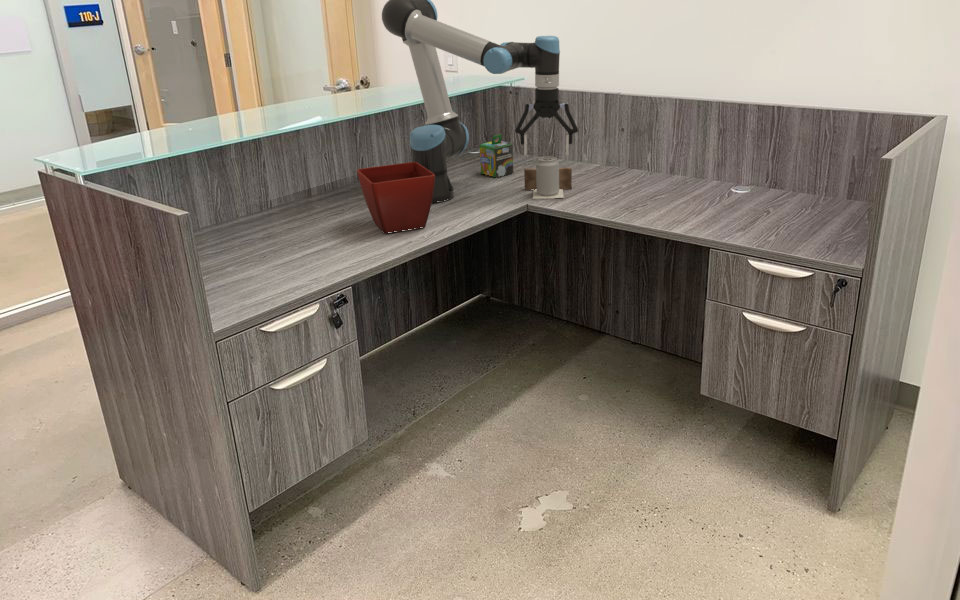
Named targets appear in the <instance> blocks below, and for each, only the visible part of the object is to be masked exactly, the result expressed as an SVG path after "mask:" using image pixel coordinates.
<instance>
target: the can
mask: <svg viewBox="0 0 960 600" xmlns="http://www.w3.org/2000/svg"><path fill="white" fill-rule="evenodd" d="M557 159H558V158H557V157H555V156H549V155H548V156H541V157H538V158H537V162H536V163H535V169H536V185H537V192H538V193H539V194H540V195H542V196H552V195H556V194H557V193H558V192H559V168H560V162H559V161H558V160H557Z"/></svg>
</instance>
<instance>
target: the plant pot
mask: <svg viewBox="0 0 960 600" xmlns="http://www.w3.org/2000/svg"><path fill="white" fill-rule="evenodd" d="M356 173H357V177H358V181H359V184H360V187H361V192H362V194H363V197H364V201H365V203H366V206H367V208H368V211H369V213H370V216H371V218H372V220H373V222H375V223H374V224H375V225H376V226H377V227H378V228H379V230H380V231H381V230H382V231H383V232H384V233H388V232H394V231H402V230H408V229H414V228H420V227H425V228H426V226H427V222H428V219H429V216H430V212H431V207H432V204H433V203H432V197H433V190H434V182H435V174H433V173H432V172H431V171H429V170H428V169H426V168H425V167H423V166H422V165H420V164H419V163H417V162H412V161H409V162H405V163H396V164H395V163H394V164H387V165H380V166H372V167H370V166H369V167H365V168H363V167H362V168H357V169H356ZM383 232H382V233H383ZM384 233H383V234H384Z"/></svg>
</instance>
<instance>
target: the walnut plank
mask: <svg viewBox="0 0 960 600" xmlns="http://www.w3.org/2000/svg"><path fill="white" fill-rule="evenodd" d="M523 171H524V172H523V174H524V176H523V177H524V191H532V190H531V189H534V190H535V189H537V185H536V168H524V169H523ZM572 172H573V171H572V167H559V189H563V190H572V188H573V187H572V186H573V184H572V182H573V181H572V177H573V176H572ZM526 189H527V190H526Z"/></svg>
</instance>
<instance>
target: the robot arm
mask: <svg viewBox="0 0 960 600" xmlns="http://www.w3.org/2000/svg"><path fill="white" fill-rule="evenodd" d="M381 21H382V24H383V26H384V28H385V29H386V30H387V31H388V32H389V33H390V34H392V35H394V36H396V37H399V38H401V40H402V43H403V44H405V45H406V46H408V48H409V52H410V56H411V58H412V59H411V60H412V64H413V66H414V67H413V68H414V71H415V74H416V77H417V82H418V84H419V89H420V93H421V95H422V100H423V103H424V107H425V110H426V114H427V115H426V116H427V120H426V121H425V125H423V126H418V127H415V128H414V129H412V131H411V132H410V134H409V148H410V158H411V159H410V160H411V162H417V163H419V164H420V165H422V166H423V167H425V168H426V169H428V170H429V171H431V172H432V173H433V174H435V182H434V190H433V197H432V202H437V201H444V200H447V199H450V198H452V197H453V196H455V191H454V188H453V185H452V183H451V179H450V177H449V175H448V164H447V163H448V162H447V161H448V160H450V159H453V158H455V157H456V158H457V157H458V156H459V155H460V154H462V153H463V152H464V151H466V149H467V147H468V145H469V143H470V141H469V140H470V135H469V130H468V128H467V127H466V125H465V124H463V123H462V122H461V121H460V117H459V114H457V113H456V112H455V111H453V108H452V104H451V101H450V98H449V97H450V96H449V93H448V90H447V86H446V81H445V78H444V75H443V71H442V67H441V63H440V60H439V55H438V52H437V49H439V50H441V51H443V52H446V53H449V54H452V55H453V56H456V57H459V58H461V59H465V60H467V61H470V62H471V63H474V64H476V65H480V66H481V67H482V66H483V67H484V68H485V69H486V71H487V72H489V73H490V74H493V75H501V74H505V73H507V72H509V71H511V70H512V71H513V70H515V69H519V68H521V69H523V68H525V69H526V68H527V69H528V68H530V69H533V68H534V70H535V71H534V82H535V83H534V86H535V87H536V88H535V89H534V104H533V103H529V102H526V103H525V106H524V111H523V113H522V115H521V117H520V119H519V121H518V123H517V125H516V127H515V130H514V132H515V133H516V134H519V136H520V145H523V151H524V152H523V155H524V156H527V152H528V150H527V146H528V144H527V143H528V140H527V139H528V135H527V131H528V130H529V129H530V128H531V126H533V124H534V123H535V121H537V119H539V117H540V118H542V119H544V118H548V119H552V118H555V119H556V120H557V121H558V122H559V124H560V125H561V126H562V128H563V129H565V131H566V132H567V133H565V155H566V156H569V146H570V145H572V144H573V134H576V133H578V132H579V128H578V125H577V124H576V121H575V120H574V118H573V115H572V113H571V111H570V108H569V103H568V102H567V101H566V102H565V103H560V102H559V99H560V96H559V95H560V94H559V93H560V90H559V86H560V53H561V51H560V39H559V37H558V36H555V35H539V36H536V37H535V41H534V42H516V41H515V42H514V41H509V42H508V41H507V42H502V43H500V44H498V43H496V42H492V41H490V40H489V39H486V38H483V37H480V36H478V35H474V34H472V33H469V32H467V31H464V30H462V29H459V28H456V27H455V26H452V25H448V24H446V23H444V22H442V21H438V11H437V7H436V5H435V4H434V2H433V1H432V0H388V1H386V2H385V4H384V5H383V8H382V11H381ZM532 109H534V111H535V113H534V114H533V116H532V117H531V118H530V119H529V120H528V122H527V123H526V124H525V126H523V124H524V122H525V120H526V118H527V115H528V114H529V112H530V111H532ZM560 109H562V111H564V112H565V114H566V117H567V119H568V121H569V122H570V125H571V126H569V124H568V123H567V122H566V121H565V120H564V119H563V118H562V116H561V115H560V113H559V112H558V111H559V110H560ZM522 126H523V128H522ZM571 127H572V128H571ZM453 198H454V197H453ZM453 198H452V199H453ZM450 200H451V199H450ZM447 201H448V200H447ZM444 202H445V201H444Z"/></svg>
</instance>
